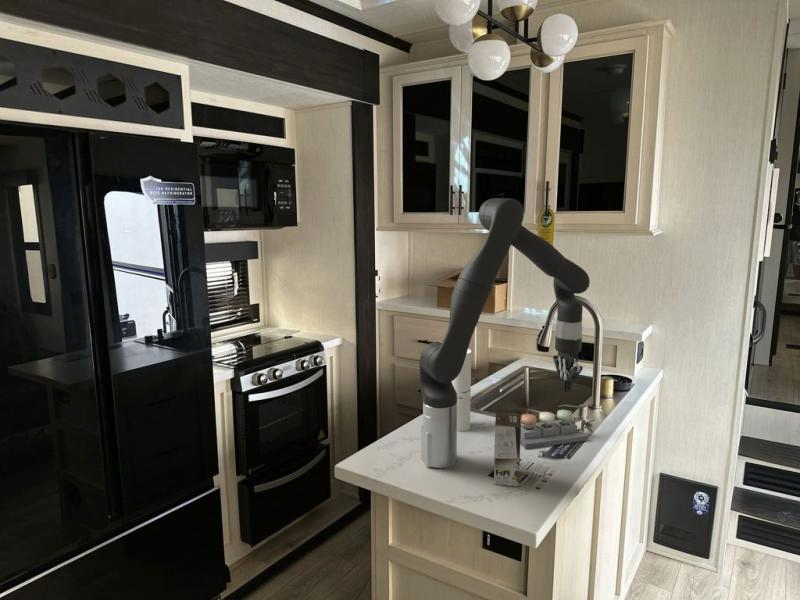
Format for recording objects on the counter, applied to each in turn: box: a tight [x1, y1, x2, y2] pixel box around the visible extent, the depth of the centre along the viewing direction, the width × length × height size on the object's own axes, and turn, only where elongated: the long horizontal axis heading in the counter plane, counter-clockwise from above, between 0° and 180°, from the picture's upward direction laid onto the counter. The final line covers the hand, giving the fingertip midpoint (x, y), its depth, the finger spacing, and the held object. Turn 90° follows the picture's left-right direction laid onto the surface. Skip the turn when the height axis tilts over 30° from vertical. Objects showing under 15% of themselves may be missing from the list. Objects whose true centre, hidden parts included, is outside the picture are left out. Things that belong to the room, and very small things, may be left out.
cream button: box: [538, 411, 556, 427], centre depth 165 cm, size 4×4×4 cm
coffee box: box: [493, 412, 522, 487], centre depth 142 cm, size 9×6×16 cm
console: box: [520, 419, 588, 450], centre depth 166 cm, size 20×12×3 cm, turn 104°
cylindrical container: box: [452, 348, 472, 432], centre depth 172 cm, size 7×7×25 cm
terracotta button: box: [520, 413, 537, 429], centre depth 164 cm, size 4×4×4 cm
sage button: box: [556, 409, 573, 424], centre depth 167 cm, size 4×4×4 cm
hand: (565, 390), depth 165 cm, fingers closed
